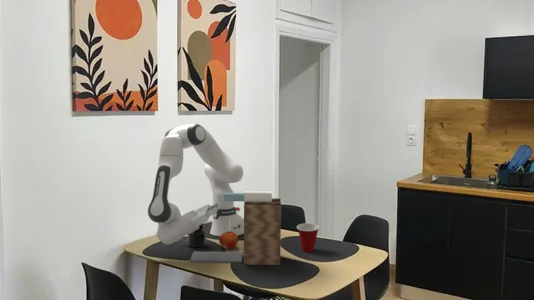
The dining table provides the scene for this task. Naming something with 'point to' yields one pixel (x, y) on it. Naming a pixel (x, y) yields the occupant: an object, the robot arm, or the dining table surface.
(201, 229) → the ink bottle
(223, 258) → the mat
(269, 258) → the stand
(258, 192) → the block
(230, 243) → the tomato
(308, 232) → the plastic cup
